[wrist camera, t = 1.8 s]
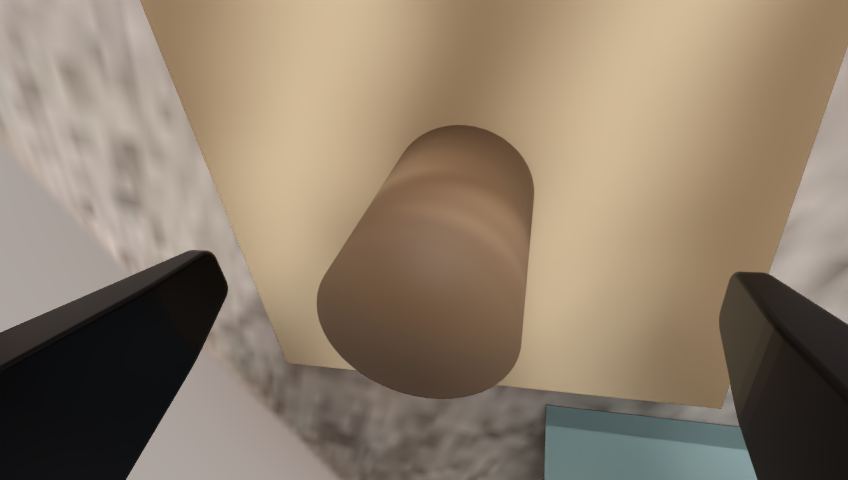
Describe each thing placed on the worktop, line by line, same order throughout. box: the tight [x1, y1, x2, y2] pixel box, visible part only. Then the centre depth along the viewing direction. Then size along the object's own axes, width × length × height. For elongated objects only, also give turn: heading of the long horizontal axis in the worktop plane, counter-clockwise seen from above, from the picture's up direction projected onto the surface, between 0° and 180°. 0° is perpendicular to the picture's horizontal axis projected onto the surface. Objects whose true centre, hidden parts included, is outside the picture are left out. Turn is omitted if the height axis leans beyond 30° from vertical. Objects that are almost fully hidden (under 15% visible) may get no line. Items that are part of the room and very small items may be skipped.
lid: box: [140, 0, 848, 409], centre depth 9 cm, size 13×13×5 cm
